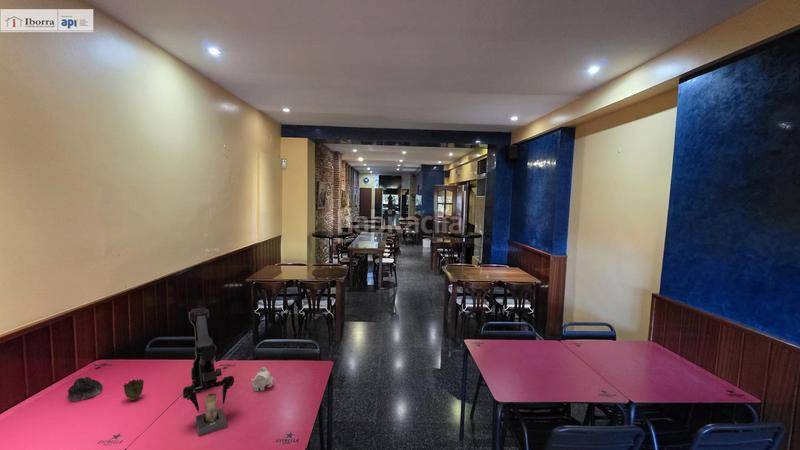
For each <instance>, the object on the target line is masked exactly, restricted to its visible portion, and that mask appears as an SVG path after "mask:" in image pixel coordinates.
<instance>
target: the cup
mask: <svg viewBox="0 0 800 450" xmlns="http://www.w3.org/2000/svg"><path fill="white" fill-rule="evenodd" d="M144 382H145V380H144V379H141V378H140V379H139V378H137V379H135V378H134V379H132V380H129V381H128V383H124V384H123V390H124V391H123V392H124V395H125V397H127V398H128V399H129V401H131V402H134V401H137V400H139V399H140V395H142V393H143V390H144Z"/></svg>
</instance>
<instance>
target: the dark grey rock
mask: <svg viewBox="0 0 800 450" xmlns="http://www.w3.org/2000/svg"><path fill="white" fill-rule="evenodd" d="M103 390H104V388H103V384H102V383H101V382H99V380H96V379H92V378H91V377H89V376H85V377H79V378H76V380H75V381H74V382H73V385H71V386H70V387H69V388H68V389H67V393H68V395H67V396H68V400H69V402H79V401H83V400H87V399H89V398H93V397H96V396H98V395H100V394H101V392H103Z"/></svg>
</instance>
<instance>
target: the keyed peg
mask: <svg viewBox="0 0 800 450" xmlns="http://www.w3.org/2000/svg"><path fill="white" fill-rule="evenodd" d="M204 399H205V400H204V401H205V402H204V403H205V404H204V405H205V407H204V408H205V413H206V423H208V422H209V423H213V422H215V420H217V410H218V409H217V393H214V392H212V393H207V394H206V395H205V398H204Z"/></svg>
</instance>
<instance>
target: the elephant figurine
mask: <svg viewBox="0 0 800 450" xmlns="http://www.w3.org/2000/svg"><path fill="white" fill-rule="evenodd" d="M274 380H275V381H276V378H274V377H273V376H272V375H271V372H270V371H269V370H268V368H266V367H265V366H261V367H260V368H259V369H258V371H257V374H256V375H255V376H254V378H250V381H252V384H251V385H252V390H253V391H254V392H256V391H257V392H264V390H265V387H266V386H267V388H271V387H272V385H275V384H274Z"/></svg>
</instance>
